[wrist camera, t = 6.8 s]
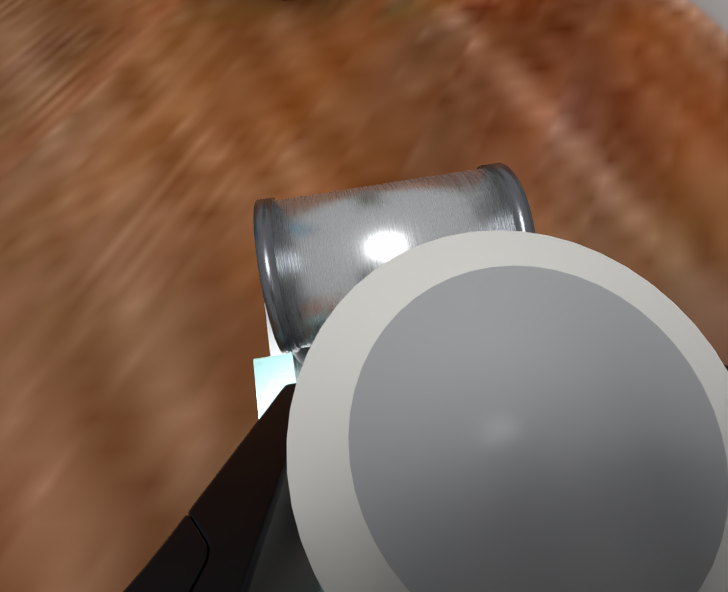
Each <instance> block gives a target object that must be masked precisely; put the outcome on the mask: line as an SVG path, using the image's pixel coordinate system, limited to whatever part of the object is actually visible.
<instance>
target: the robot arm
mask: <svg viewBox="0 0 728 592" xmlns="http://www.w3.org/2000/svg"><path fill="white" fill-rule="evenodd" d="M724 366H725V368H726V369H727V371H728V366H727V365H724ZM295 387H296V383H292V384H287V385H285V386H284V387H283V388H282V390H281V391H280V392H279V394H278V395H277V396H276V397H275V399H274V400H273V401H272V403H271V404H270V405H269V407H268V408H267V409H266V411H265V412H264V413H263V415H262V416H261V417H260V418H259V420H258V421H257V422H256V424H255V425H254V426H253V428H252V429H251V430H250V432H249V433H248V434H247V436H246V437H245V438H244V439H243V441H242V442H241V443H240V445H239V446H238V447H237V449H236V450H235V451H234V453H233V454H232V455H231V457H230V458H229V459H228V460H227V462H226V463H225V464H224V466H223V467H222V468H221V470H220V471H219V472H218V474H217V475H216V476H215V478H214V479H213V480H212V481H211V483H210V484H209V485H208V487H207V488H206V489H205V491H204V492H203V493H202V495H201V496H200V497H199V499H198V500H197V501H196V502H195V504H194V505H193V506H192V508H191V509H190V510H189V512H188V515H189V516H188V515H186V516H185V517H184V518H183V519H182V521H181V522H180V523H179V524H178V526H177V527H176V528H175V530H174V531H173V532H172V534H171V535H170V536H169V537H168V539H167V540H166V541H165V542H164V544H163V545H162V546H161V547H160V549H159V550H158V551H157V552H156V554H155V555H154V556H153V557H152V559H151V560H150V561H149V562H148V564H147V565H146V566H145V567H144V568H143V569H142V571H141V572H140V573H139V574H138V575H137V576H136V577H135V579H134V580H133V581H132V582H131V583H130V584H129V585H128V587H127V588H126V589H125V590H124V591H123V592H319V581H318V580H317V578H316V576H315V574H314V572H313V569H312V567H311V564H310V562H309V560H308V557H307V555H306V552H305V550H304V547H303V545H302V542H301V540H300V536H299V532H298V528H297V524H296V521H295V517H294V513H293V509H292V505H291V498H290V491H289V483H288V476H287V432H288V423H289V414H290V407H291V403H292V399H293V395H294V391H295Z"/></svg>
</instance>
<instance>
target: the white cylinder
mask: <svg viewBox="0 0 728 592" xmlns="http://www.w3.org/2000/svg"><path fill="white" fill-rule="evenodd" d="M287 476H288V483H289V491H290V498H291V505H292V509H293V513H294V517H295V521H296V524H297V528H298V532H299V536H300V540H301V542H302V545H303V547H304V550H305V552H306V555H307V557H308V560H309V562H310V564H311V567H312V569H313V572H314V574H315V576H316V578H317V580H318V581H319V583H320V585H321V587H322V588H323V590H324V592H728V371H727V369H726V368H725V366H724V365H723V363H722V361H721V360H720V358H719V356H718V355H717V353H716V352H715V350H714V349H713V347H712V346H711V345H710V343H709V342H708V341H707V340H706V338H705V337H704V336H703V334H702V333H701V332H700V331H699V329H698V328H697V327H696V325H695V324H694V323H693V322H692V321H691V320H690V319H689V318H688V317H687V316H686V315H685V314H684V313H683V312H682V311H681V310H680V309H679V308H678V307H677V306H676V305H675V304H674V303H673V302H672V301H671V300H670V299H669V298H668V297H666V296H665V295H664V294H663V293H662V292H660V291H659V290H658V289H657V288H656V287H654V286H653V285H652V284H651V283H649V282H648V281H647V280H645V279H644V278H642V277H641V276H639V275H638V274H636V273H635V272H633V271H632V270H630V269H629V268H627V267H626V266H624V265H622V264H620V263H618V262H616V261H614V260H612V259H611V258H609V257H607V256H605V255H603V254H601V253H599V252H596V251H594V250H591V249H589V248H586V247H584V246H581V245H579V244H576V243H573V242H570V241H566V240H562V239H559V238H555V237H552V236H547V235H541V234H535V233H529V232H523V231H503V230H491V231H477V232H467V233H462V234H457V235H452V236H446V237H443V238H439V239H436V240H433V241H430V242H427V243H424V244H421V245H419V246H416V247H414V248H412V249H410V250H408V251H406V252H403V253H401V254H399V255H397V256H395V257H394V258H392V259H391V260H389V261H388V262H386V263H384V264H383V265H381V266H380V267H378V268H376V269H375V270H374V271H372V272H371V273H370V274H369V275H368V276H366V277H365V278H364V279H363V280H362V281H360V282H359V283H358V284H357V285H356V286H354V288H353V289H352V290H351V291H350V292H349V293H348V294H347V295H346V296H345V297H344V298H343V299H342V300H341V302H340V303H339V304H338V305H337V306H336V307H335V309H334V310H333V311H332V313H331V314H330V316H329V317H328V318H327V320H326V321H325V323H324V324H323V325H322V327H321V328H320V330H319V332H318V334H317V336H316V338H315V340H314V341H313V343H312V345H311V347H310V349H309V351H308V353H307V355H306V358H305V361H304V363H303V366H302V368H301V371H300V374H299V376H298V379H297V383H296V387H295V391H294V395H293V399H292V403H291V407H290V414H289V423H288V432H287Z"/></svg>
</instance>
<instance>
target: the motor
mask: <svg viewBox="0 0 728 592" xmlns="http://www.w3.org/2000/svg"><path fill="white" fill-rule="evenodd" d="M491 230H503V231H523V232H529V233H535V230H534V224H533V219H532V215H531V211H530V207H529V204H528V201H527V198H526V195H525V193H524V190H523V188H522V186H521V184H520V182H519V180H518V178H517V177H516V175H515V174H514V173H513V171H512V170H511V169H510V168H509V167H508V166H506V165H504V164H502V163H495V164H488V165H482V166H479V167H478V168H477V169H476V170H469V171H463V172H456V173H450V174H443V175H437V176H430V177H424V178H417V179H411V180H404V181H398V182H391V183H385V184H378V185H372V186H365V187H359V188H352V189H346V190H339V191H333V192H326V193H320V194H313V195H307V196H300V197H294V198H287V199H281V200H275V199H274V198H267V199H260V200H256V202H255V205H254V237H255V247H256V256H257V263H258V269H259V276H260V281H261V287H262V292H263V297H264V301H265V310H266V319H267V329H268V338H269V348H270V357H264V358H258V359H253V362H254V372H255V383H256V394H257V405H258V416H259V418H260V417H261V416H262V415H263V413H264V412H265V411H266V409H267V408H268V407H269V405H270V404H271V403H272V401H273V400H274V399H275V397H276V396H277V395H278V394H279V392H280V391H281V390H282V388H283V387H284V386H285V385H287V384H292V383H297V379H298V376H299V374H300V371H301V368H302V366H303V363H304V361H305V358H306V355H307V353H308V351H309V349H310V347H311V345H312V343H313V341H314V340H315V338H316V336H317V334H318V332H319V330H320V328H321V327H322V325H323V324H324V323H325V321H326V320H327V318H328V317H329V316H330V314H331V313H332V311H333V310H334V309H335V307H336V306H337V305H338V304H339V303H340V302H341V300H342V299H343V298H344V297H345V296H346V295H347V294H348V293H349V292H350V291H351V290H352V289H353V288H354V286H356V285H357V284H358V283H359V282H360V281H362V280H363V279H364V278H365V277H366V276H368V275H369V274H370V273H371V272H372V271H374V270H375V269H376V268H378V267H380V266H381V265H383V264H384V263H386V262H388V261H389V260H391V259H392V258H394V257H395V256H397V255H399V254H401V253H403V252H406V251H408V250H410V249H412V248H414V247H416V246H419V245H421V244H424V243H427V242H430V241H433V240H436V239H439V238H443V237H446V236H452V235H457V234H462V233H467V232H477V231H491ZM319 592H324V590H323V588H322V587H321V585H320V583H319Z"/></svg>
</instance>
